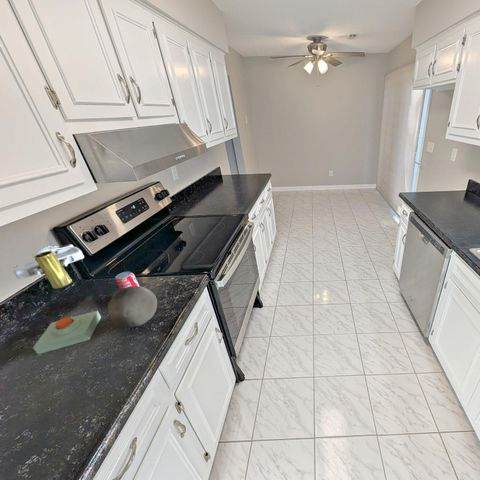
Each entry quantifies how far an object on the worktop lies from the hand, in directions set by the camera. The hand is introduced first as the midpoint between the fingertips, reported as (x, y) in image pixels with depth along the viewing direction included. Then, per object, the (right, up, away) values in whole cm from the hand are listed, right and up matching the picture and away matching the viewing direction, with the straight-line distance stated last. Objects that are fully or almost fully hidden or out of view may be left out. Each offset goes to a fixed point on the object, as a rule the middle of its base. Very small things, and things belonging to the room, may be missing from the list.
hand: (52, 268), depth 99 cm
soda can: (+27, -13, +7) cm, 31 cm away
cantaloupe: (+40, -19, -6) cm, 44 cm away
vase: (0, -7, +4) cm, 8 cm away
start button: (+16, -18, -11) cm, 27 cm away
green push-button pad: (+16, -22, -9) cm, 29 cm away
